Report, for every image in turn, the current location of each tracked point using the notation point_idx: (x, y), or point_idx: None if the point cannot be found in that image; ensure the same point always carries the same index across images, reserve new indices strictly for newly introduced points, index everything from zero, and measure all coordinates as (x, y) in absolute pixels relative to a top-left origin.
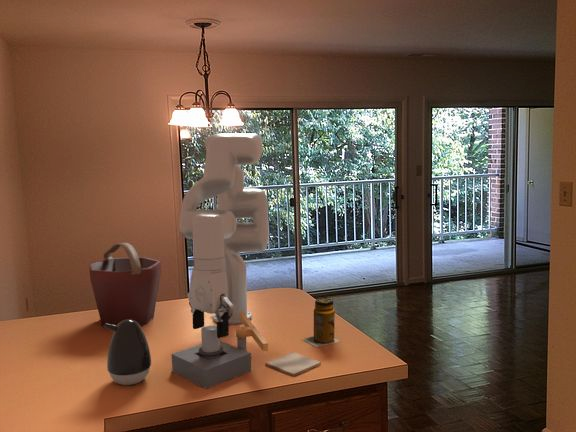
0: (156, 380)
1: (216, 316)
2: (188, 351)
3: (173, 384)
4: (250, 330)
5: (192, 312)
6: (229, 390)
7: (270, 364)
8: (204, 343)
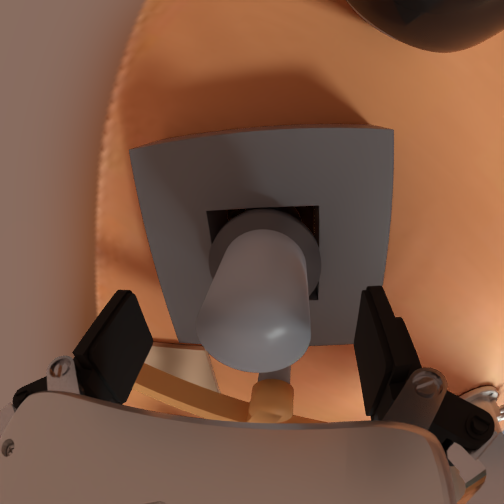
0: (338, 44)
1: (79, 389)
2: (360, 201)
3: (265, 68)
4: (247, 417)
5: (424, 373)
6: (119, 191)
7: (188, 349)
8: (247, 249)
